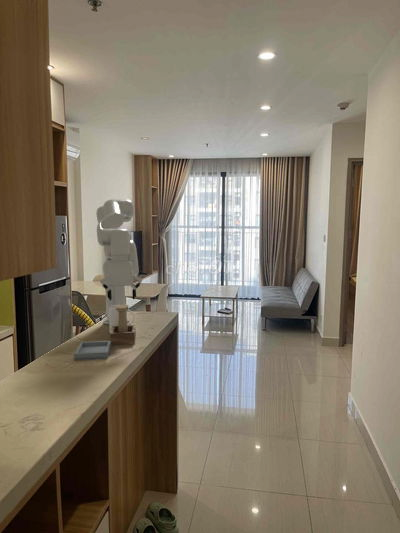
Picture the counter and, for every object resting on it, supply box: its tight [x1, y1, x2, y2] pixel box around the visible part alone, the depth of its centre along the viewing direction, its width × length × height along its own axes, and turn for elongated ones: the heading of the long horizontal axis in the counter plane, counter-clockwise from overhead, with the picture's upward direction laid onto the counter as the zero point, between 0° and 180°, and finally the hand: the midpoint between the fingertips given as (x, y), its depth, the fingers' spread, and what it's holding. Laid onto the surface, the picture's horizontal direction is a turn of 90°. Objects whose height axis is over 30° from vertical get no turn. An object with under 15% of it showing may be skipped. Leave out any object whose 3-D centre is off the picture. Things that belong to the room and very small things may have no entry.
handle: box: [116, 304, 129, 332], centre depth 167 cm, size 5×6×15 cm
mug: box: [108, 305, 135, 334], centre depth 179 cm, size 12×8×12 cm
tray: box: [73, 340, 112, 361], centre depth 152 cm, size 14×12×2 cm
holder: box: [109, 324, 137, 346], centre depth 167 cm, size 11×10×5 cm
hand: (122, 299), depth 165 cm, fingers open, 9 cm apart
